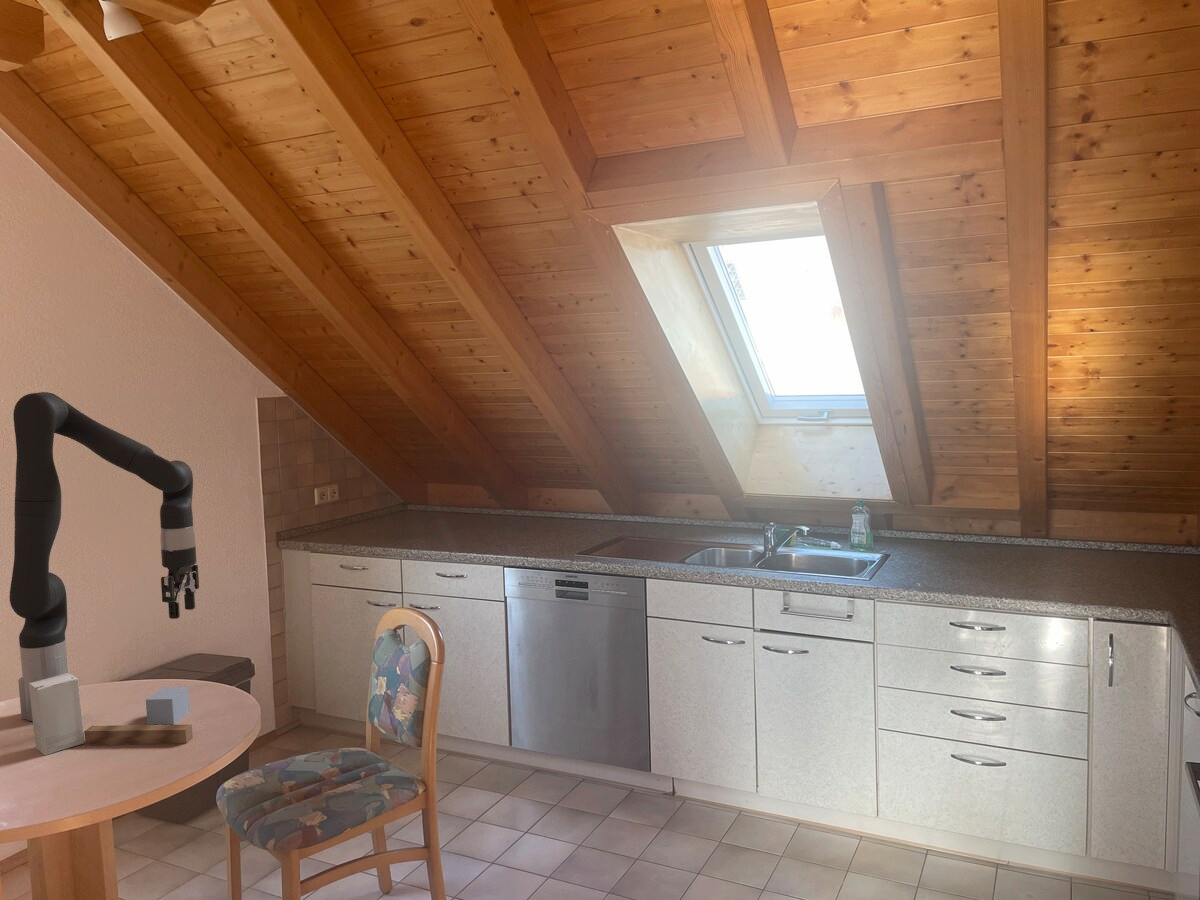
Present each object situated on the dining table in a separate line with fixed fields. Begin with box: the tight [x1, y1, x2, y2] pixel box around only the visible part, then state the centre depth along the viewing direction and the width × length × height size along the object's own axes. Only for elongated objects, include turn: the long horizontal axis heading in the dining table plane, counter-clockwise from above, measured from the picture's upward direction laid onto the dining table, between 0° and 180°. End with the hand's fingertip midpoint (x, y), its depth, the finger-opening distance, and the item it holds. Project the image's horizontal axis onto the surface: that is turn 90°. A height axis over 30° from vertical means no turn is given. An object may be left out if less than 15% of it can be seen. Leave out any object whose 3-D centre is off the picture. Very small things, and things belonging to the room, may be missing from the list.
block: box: [145, 686, 191, 725], centre depth 221 cm, size 6×8×6 cm
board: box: [83, 723, 194, 746], centre depth 207 cm, size 22×3×3 cm, turn 88°
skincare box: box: [29, 672, 85, 756], centre depth 205 cm, size 8×6×15 cm
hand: (182, 613), depth 229 cm, fingers open, 7 cm apart
